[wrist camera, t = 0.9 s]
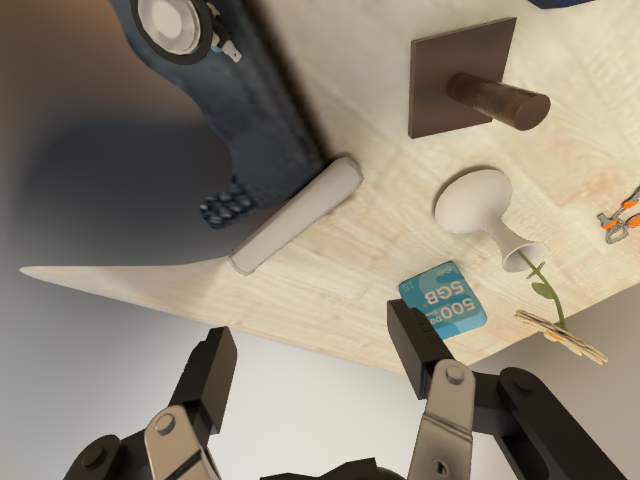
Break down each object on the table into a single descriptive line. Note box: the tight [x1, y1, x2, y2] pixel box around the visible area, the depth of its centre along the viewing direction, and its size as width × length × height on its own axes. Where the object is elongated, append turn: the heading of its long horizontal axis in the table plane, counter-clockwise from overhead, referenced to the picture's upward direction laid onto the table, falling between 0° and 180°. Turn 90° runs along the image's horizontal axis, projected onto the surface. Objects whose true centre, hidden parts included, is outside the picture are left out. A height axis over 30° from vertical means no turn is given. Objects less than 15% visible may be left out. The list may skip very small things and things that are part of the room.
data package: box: [399, 263, 487, 340], centre depth 48 cm, size 12×4×12 cm, turn 125°
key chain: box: [598, 189, 640, 244], centre depth 45 cm, size 13×7×1 cm, turn 40°
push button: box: [130, 0, 242, 65], centre depth 21 cm, size 7×5×10 cm
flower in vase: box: [435, 170, 608, 365], centre depth 31 cm, size 13×11×25 cm
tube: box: [228, 157, 364, 276], centre depth 38 cm, size 5×5×25 cm
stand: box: [408, 17, 551, 139], centre depth 25 cm, size 10×10×14 cm
